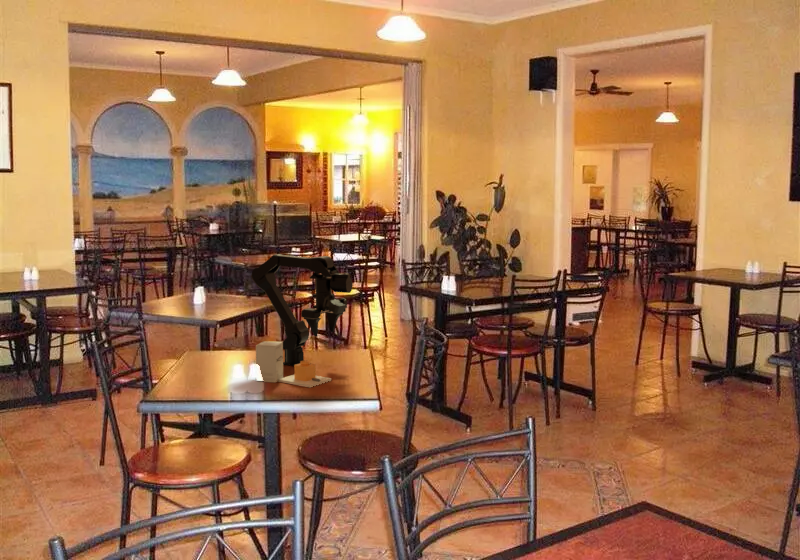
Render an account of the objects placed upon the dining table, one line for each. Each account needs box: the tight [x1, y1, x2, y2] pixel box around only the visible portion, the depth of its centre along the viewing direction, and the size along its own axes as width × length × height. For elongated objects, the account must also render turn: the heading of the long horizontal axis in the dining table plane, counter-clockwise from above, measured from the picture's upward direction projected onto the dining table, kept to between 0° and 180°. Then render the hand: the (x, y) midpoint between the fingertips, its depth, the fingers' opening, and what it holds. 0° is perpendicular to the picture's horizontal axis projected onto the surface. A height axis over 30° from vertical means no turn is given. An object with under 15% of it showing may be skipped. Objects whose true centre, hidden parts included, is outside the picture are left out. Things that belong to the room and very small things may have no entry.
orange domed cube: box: [293, 359, 317, 381], centre depth 278 cm, size 5×5×6 cm
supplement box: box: [255, 340, 284, 383], centre depth 280 cm, size 7×7×13 cm
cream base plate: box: [277, 374, 332, 388], centre depth 279 cm, size 14×11×5 cm
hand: (324, 334), depth 298 cm, fingers open, 9 cm apart
